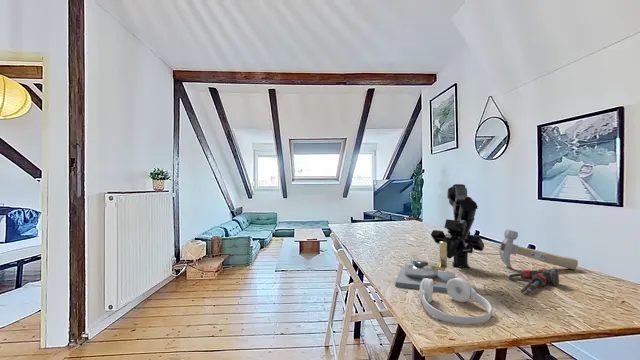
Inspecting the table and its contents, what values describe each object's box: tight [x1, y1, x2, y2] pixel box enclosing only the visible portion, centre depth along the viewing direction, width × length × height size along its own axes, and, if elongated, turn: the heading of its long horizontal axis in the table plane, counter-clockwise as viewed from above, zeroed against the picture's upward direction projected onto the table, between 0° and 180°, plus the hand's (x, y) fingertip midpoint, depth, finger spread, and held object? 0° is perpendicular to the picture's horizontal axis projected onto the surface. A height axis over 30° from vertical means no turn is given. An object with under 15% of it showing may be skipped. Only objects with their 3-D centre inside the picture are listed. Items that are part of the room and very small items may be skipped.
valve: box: [508, 267, 560, 295], centre depth 117 cm, size 6×26×15 cm
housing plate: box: [395, 267, 456, 293], centre depth 120 cm, size 20×20×2 cm
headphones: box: [418, 276, 493, 325], centre depth 94 cm, size 7×18×20 cm
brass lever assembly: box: [404, 241, 448, 279], centre depth 121 cm, size 15×12×13 cm
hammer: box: [499, 228, 579, 271], centre depth 138 cm, size 16×5×30 cm
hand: (448, 257), depth 120 cm, fingers closed
